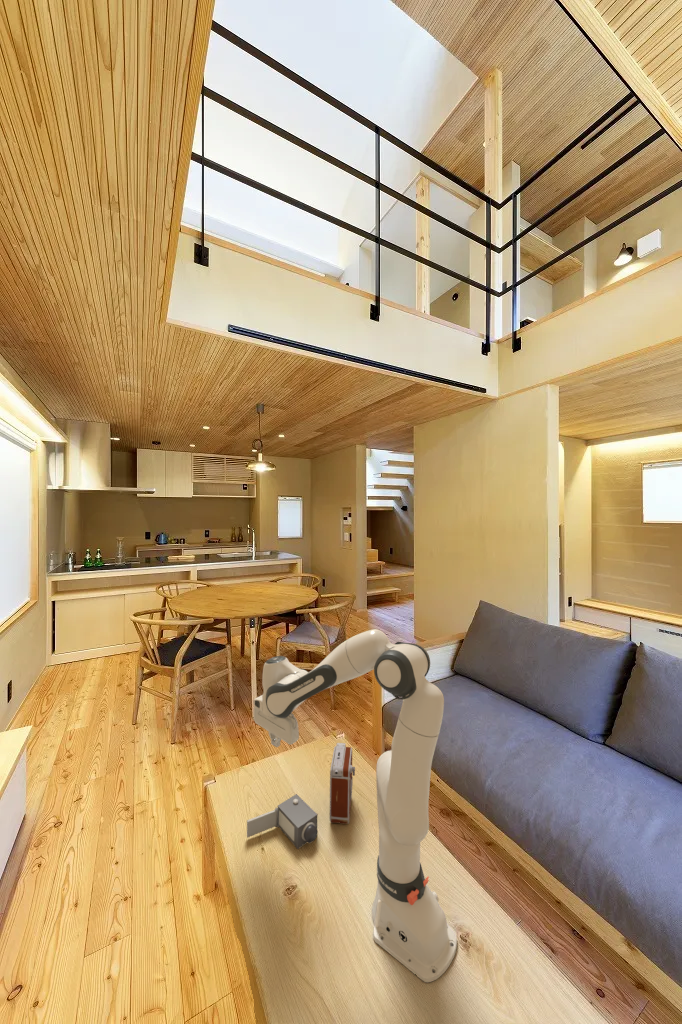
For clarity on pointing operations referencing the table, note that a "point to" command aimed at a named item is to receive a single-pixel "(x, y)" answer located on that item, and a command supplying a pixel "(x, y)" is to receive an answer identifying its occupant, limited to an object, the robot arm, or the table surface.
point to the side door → (262, 822)
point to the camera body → (297, 821)
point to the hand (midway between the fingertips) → (275, 745)
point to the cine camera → (341, 784)
